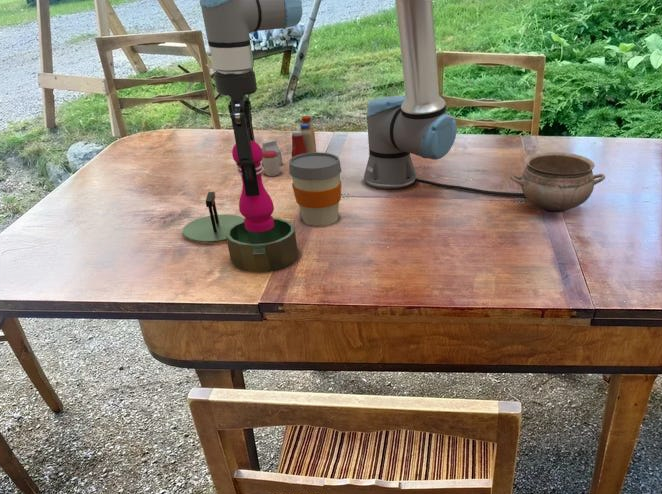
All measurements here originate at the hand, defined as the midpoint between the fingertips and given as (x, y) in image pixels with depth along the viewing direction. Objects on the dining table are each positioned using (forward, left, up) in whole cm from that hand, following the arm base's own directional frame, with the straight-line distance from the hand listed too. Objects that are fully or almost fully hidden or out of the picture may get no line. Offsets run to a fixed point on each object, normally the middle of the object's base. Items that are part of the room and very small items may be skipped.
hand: (253, 189), depth 127 cm
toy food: (-4, -63, -16) cm, 65 cm away
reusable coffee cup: (-13, -20, -16) cm, 29 cm away
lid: (+12, -16, -15) cm, 25 cm away
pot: (0, 0, -16) cm, 16 cm away
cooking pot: (-75, -18, -16) cm, 79 cm away
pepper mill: (0, 0, -8) cm, 8 cm away
